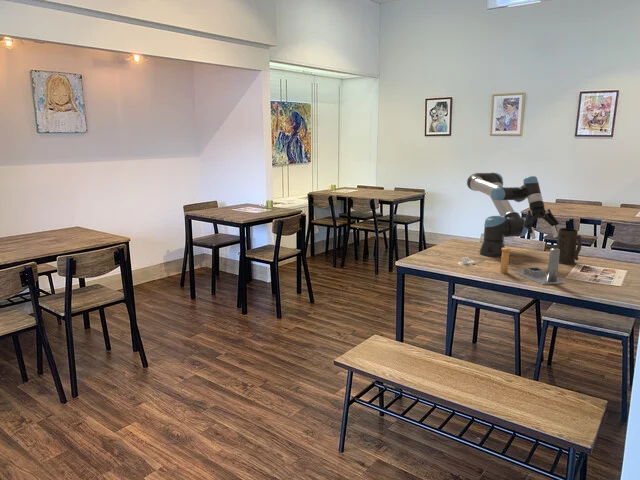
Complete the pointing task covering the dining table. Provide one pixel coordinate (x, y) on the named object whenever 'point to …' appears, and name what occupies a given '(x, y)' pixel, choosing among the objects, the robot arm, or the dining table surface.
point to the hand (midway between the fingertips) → (544, 238)
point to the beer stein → (568, 245)
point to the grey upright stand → (540, 274)
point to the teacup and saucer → (466, 261)
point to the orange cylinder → (505, 260)
